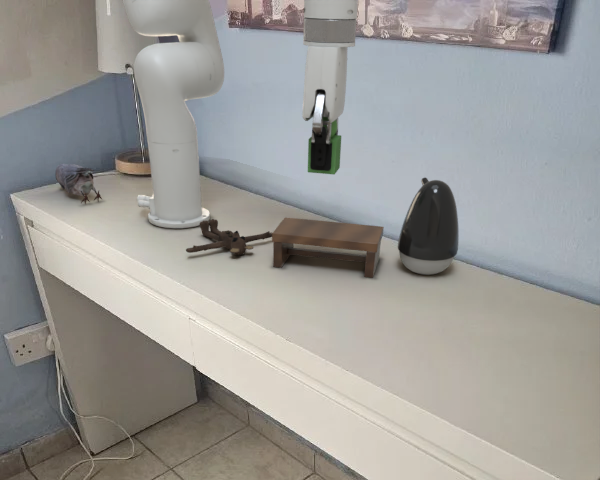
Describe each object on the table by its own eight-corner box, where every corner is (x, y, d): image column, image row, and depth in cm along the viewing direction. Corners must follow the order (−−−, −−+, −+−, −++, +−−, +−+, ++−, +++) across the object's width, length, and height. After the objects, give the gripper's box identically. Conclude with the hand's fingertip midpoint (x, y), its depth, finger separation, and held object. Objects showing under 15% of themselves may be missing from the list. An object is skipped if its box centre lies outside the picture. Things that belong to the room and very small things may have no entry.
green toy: (307, 172, 98) (309, 115, 93) (313, 165, 101) (315, 110, 97) (334, 174, 97) (337, 117, 92) (339, 168, 100) (342, 112, 96)
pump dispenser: (439, 256, 114) (452, 171, 105) (463, 278, 105) (480, 187, 97) (386, 259, 112) (396, 173, 103) (407, 282, 103) (419, 190, 95)
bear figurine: (248, 211, 123) (286, 225, 112) (249, 233, 125) (287, 248, 114) (163, 225, 115) (195, 242, 104) (166, 248, 117) (198, 267, 106)
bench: (271, 266, 108) (271, 233, 104) (284, 249, 115) (284, 217, 111) (374, 278, 104) (377, 243, 101) (380, 259, 112) (383, 226, 108)
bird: (73, 186, 145) (66, 154, 141) (106, 201, 136) (100, 167, 132) (51, 190, 142) (44, 157, 138) (83, 206, 133) (77, 171, 129)
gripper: (316, 29, 96) (312, 152, 106) (290, 36, 82) (288, 177, 93) (364, 31, 95) (355, 156, 105) (345, 38, 81) (337, 181, 91)
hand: (323, 164), depth 99 cm, fingers closed on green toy, 4 cm apart
